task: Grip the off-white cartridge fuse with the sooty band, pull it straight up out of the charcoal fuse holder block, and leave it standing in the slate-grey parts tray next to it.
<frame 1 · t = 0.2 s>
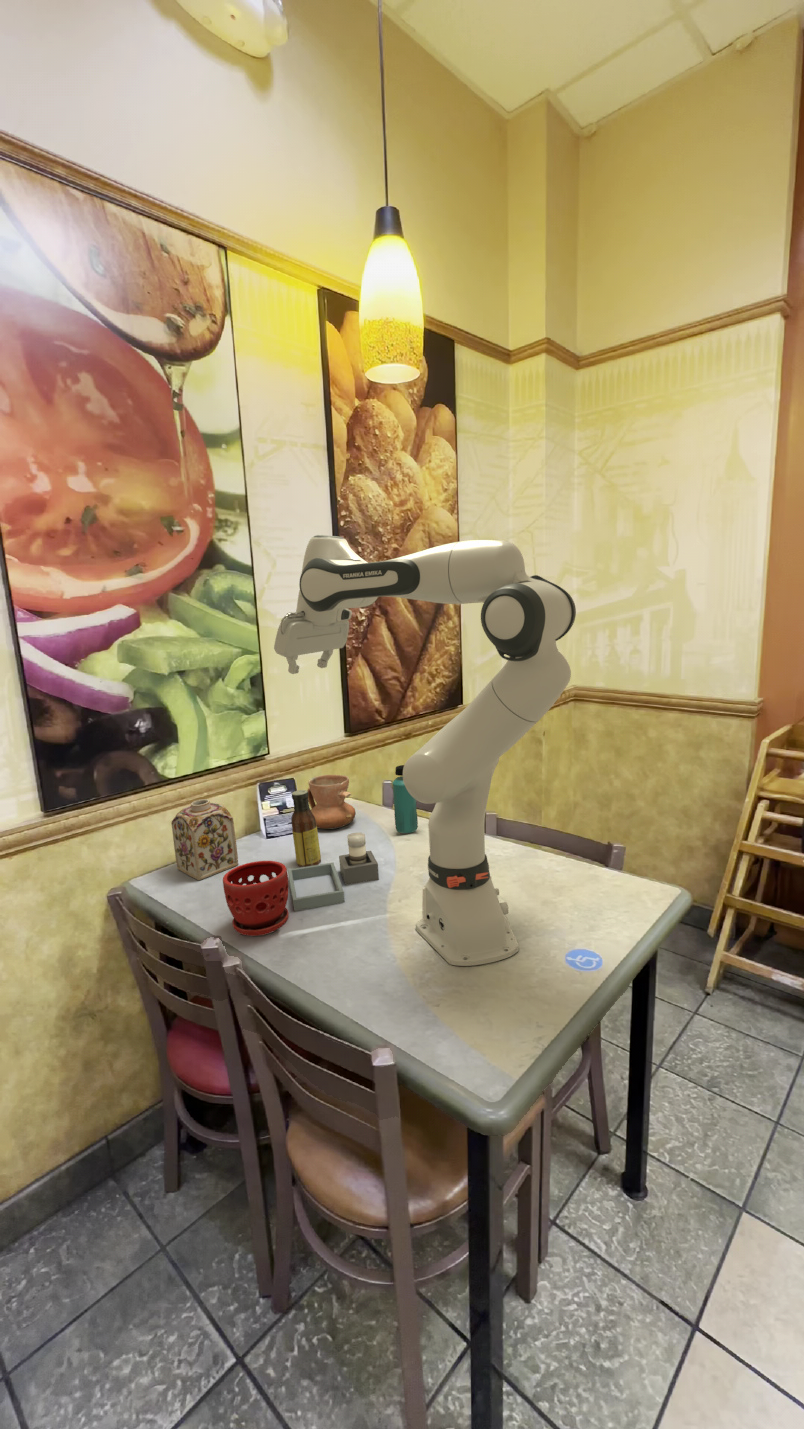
hand: (307, 669, 137), 51 cm above the table, tool tilted 20°, fingers open, 8 cm apart
blown fuse: (359, 875, 147), point 1 cm above the table, touching fuse holder
decorative jar: (208, 868, 158), on the table
sauce bottle: (308, 866, 156), on the table
ceramic jug: (331, 824, 185), on the table
beverage bottle: (406, 834, 173), on the table
fuse holder: (359, 878, 147), on the table
plant pot: (260, 925, 129), on the table
parts tray: (315, 894, 140), on the table
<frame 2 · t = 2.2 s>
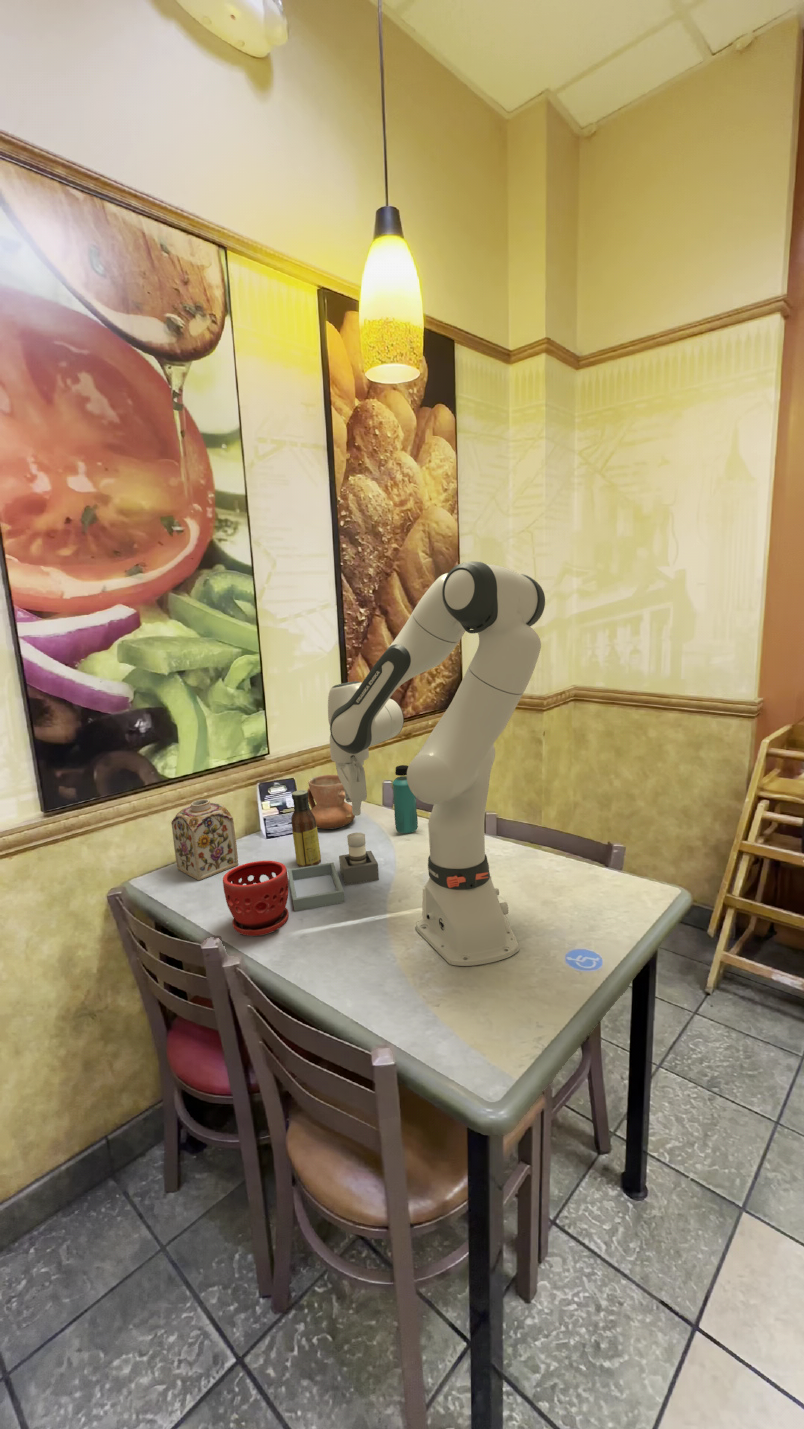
hand: (352, 807, 144), 18 cm above the table, tool pointing down, fingers open, 8 cm apart
nothing on the table moved.
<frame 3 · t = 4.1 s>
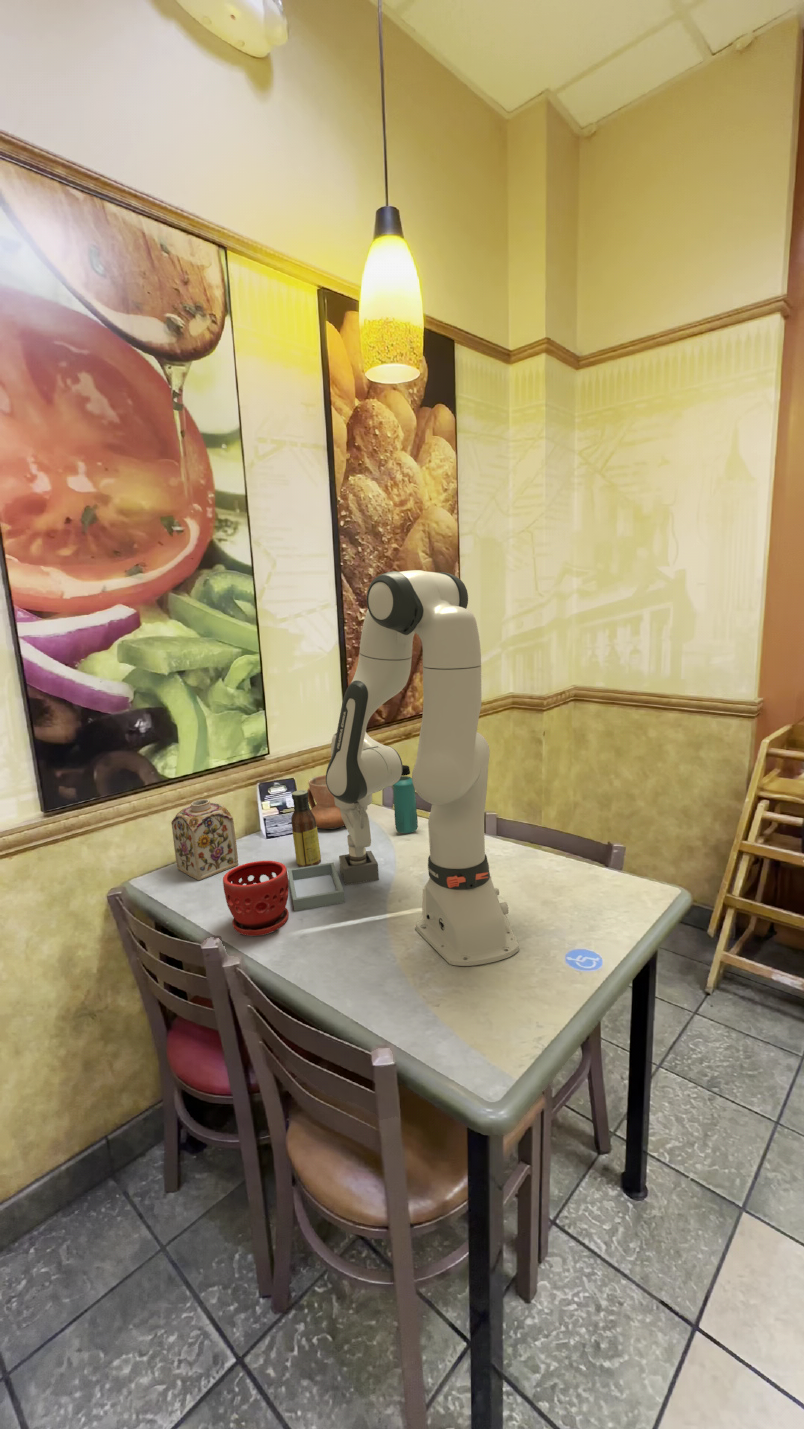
hand: (357, 851, 145), 7 cm above the table, tool pointing down, fingers closed on blown fuse, 4 cm apart
blown fuse: (359, 874, 147), point 1 cm above the table, touching fuse holder, gripper
everything else where it was.
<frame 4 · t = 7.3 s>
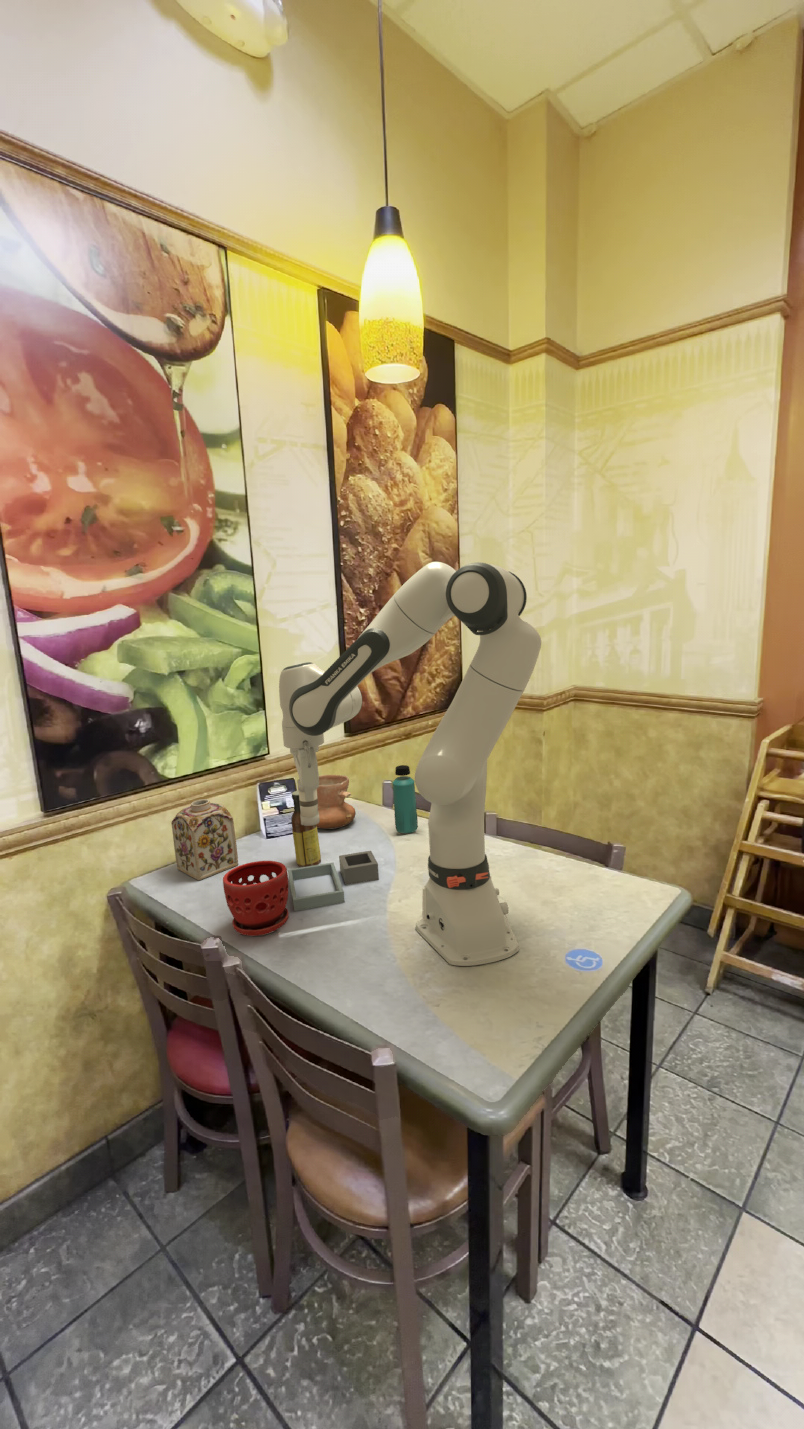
hand: (308, 796, 136), 23 cm above the table, tool pointing down, fingers closed on blown fuse, 4 cm apart
blown fuse: (310, 822, 138), point 17 cm above the table, touching gripper
everything else where it was.
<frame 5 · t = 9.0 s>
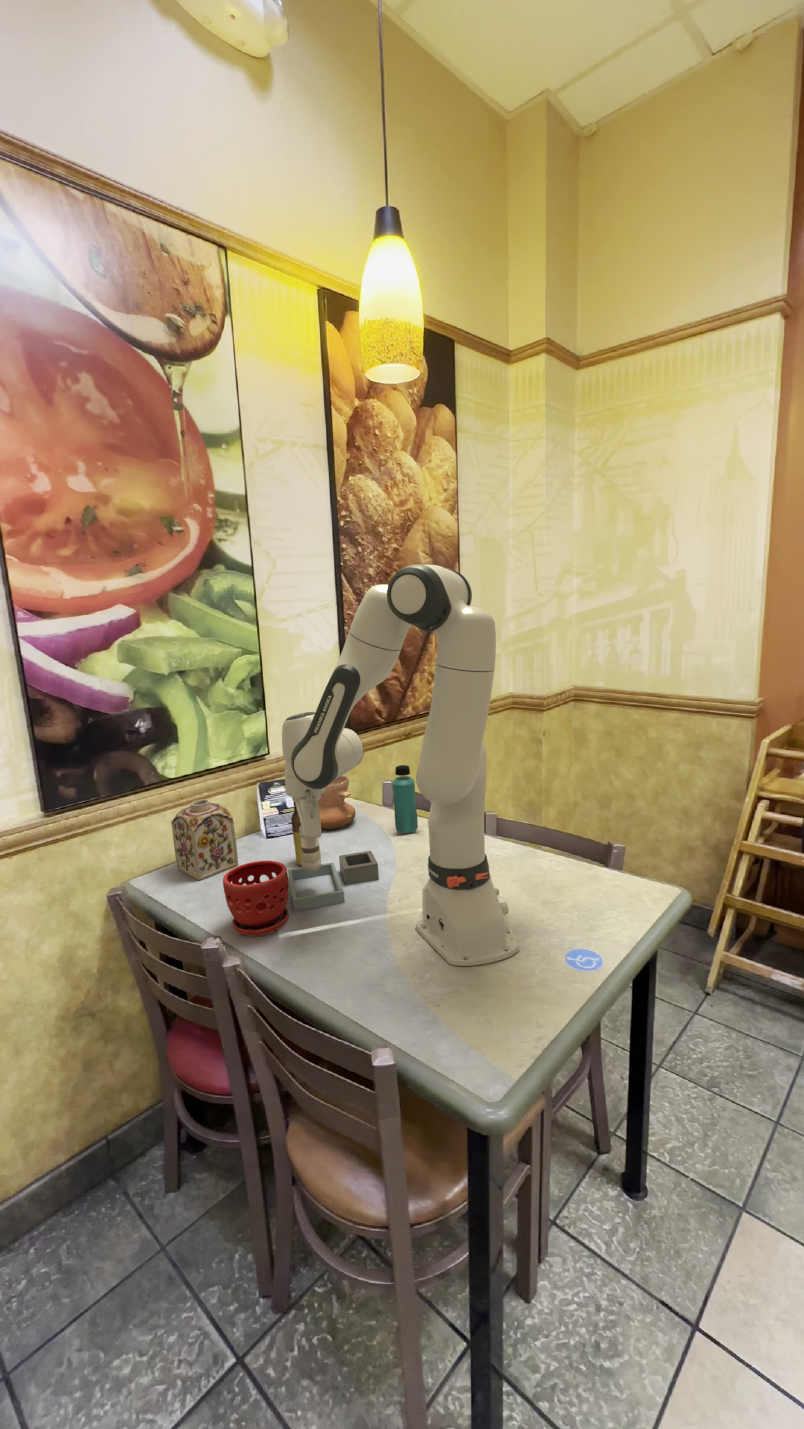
hand: (310, 842, 138), 13 cm above the table, tool pointing down, fingers closed on blown fuse, 4 cm apart
blown fuse: (311, 867, 139), point 7 cm above the table, touching gripper
everything else where it was.
when the fingers open (8 cm above the table, at t = 10.5 s): blown fuse moves 2 cm, resting on parts tray.
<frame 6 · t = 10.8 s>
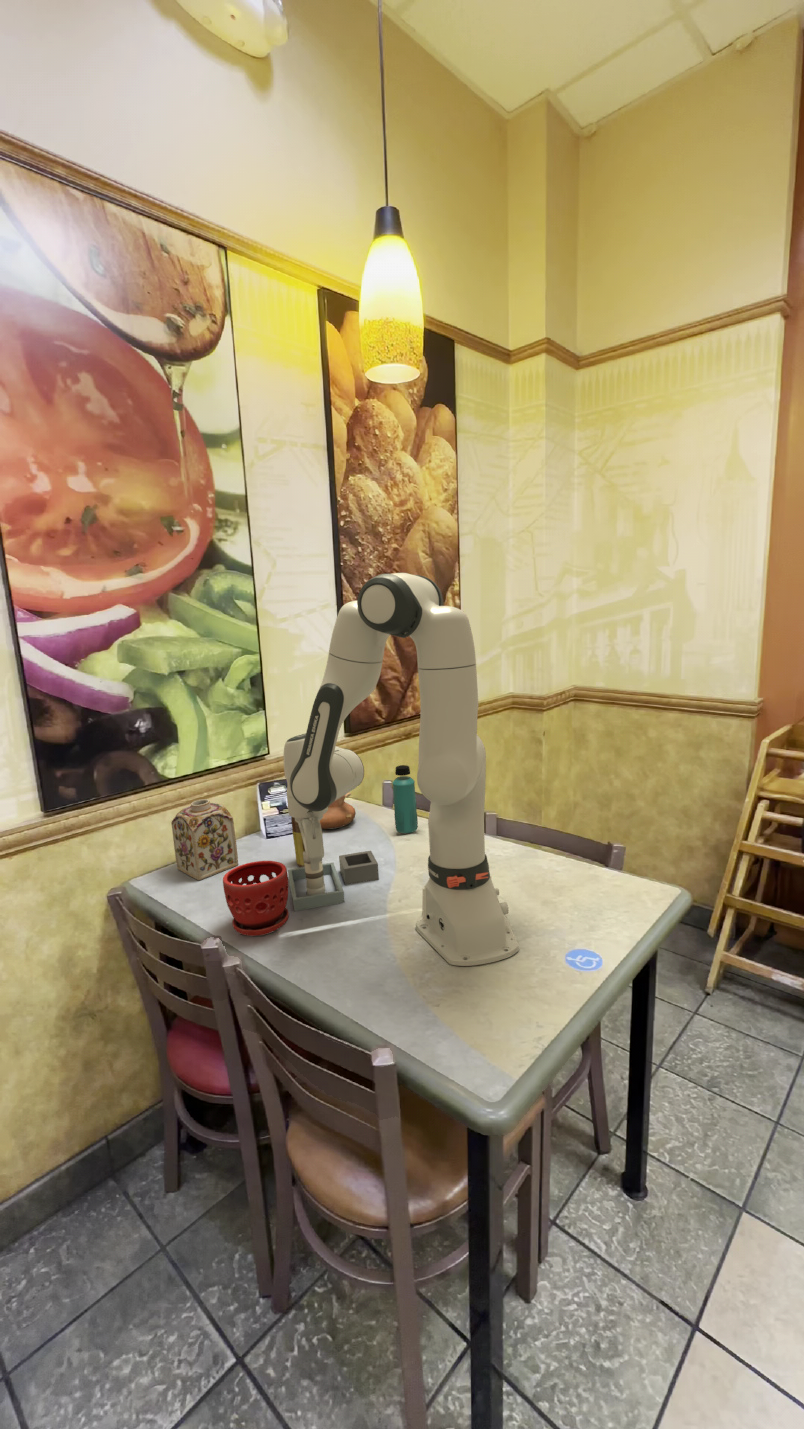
hand: (313, 862, 139), 8 cm above the table, tool pointing down, fingers open, 7 cm apart
blown fuse: (316, 893, 138), point 1 cm above the table, touching gripper, parts tray
everything else where it was.
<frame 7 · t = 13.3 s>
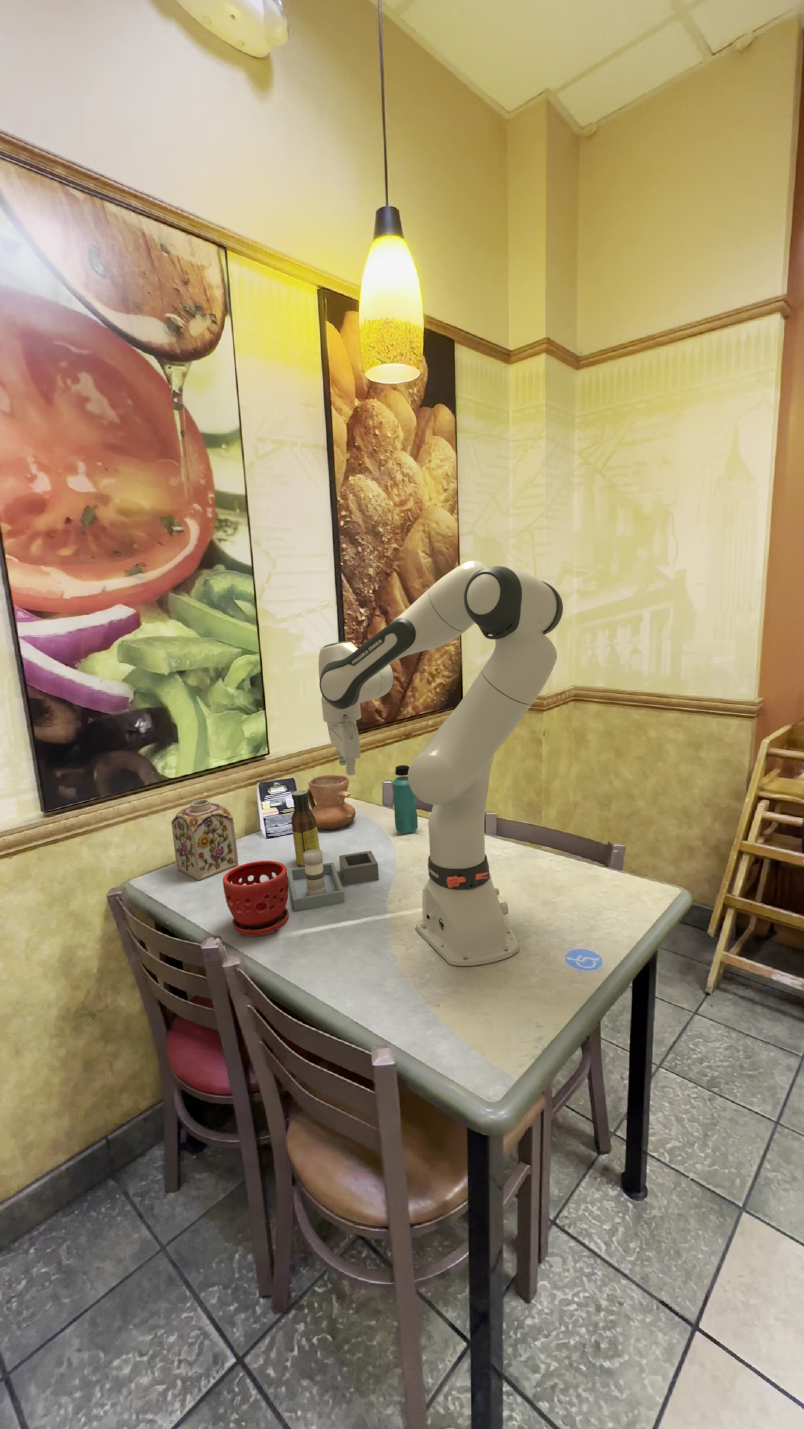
hand: (346, 769, 144), 27 cm above the table, tool pointing down, fingers open, 8 cm apart
blown fuse: (316, 894, 138), point 1 cm above the table, touching parts tray
everything else where it was.
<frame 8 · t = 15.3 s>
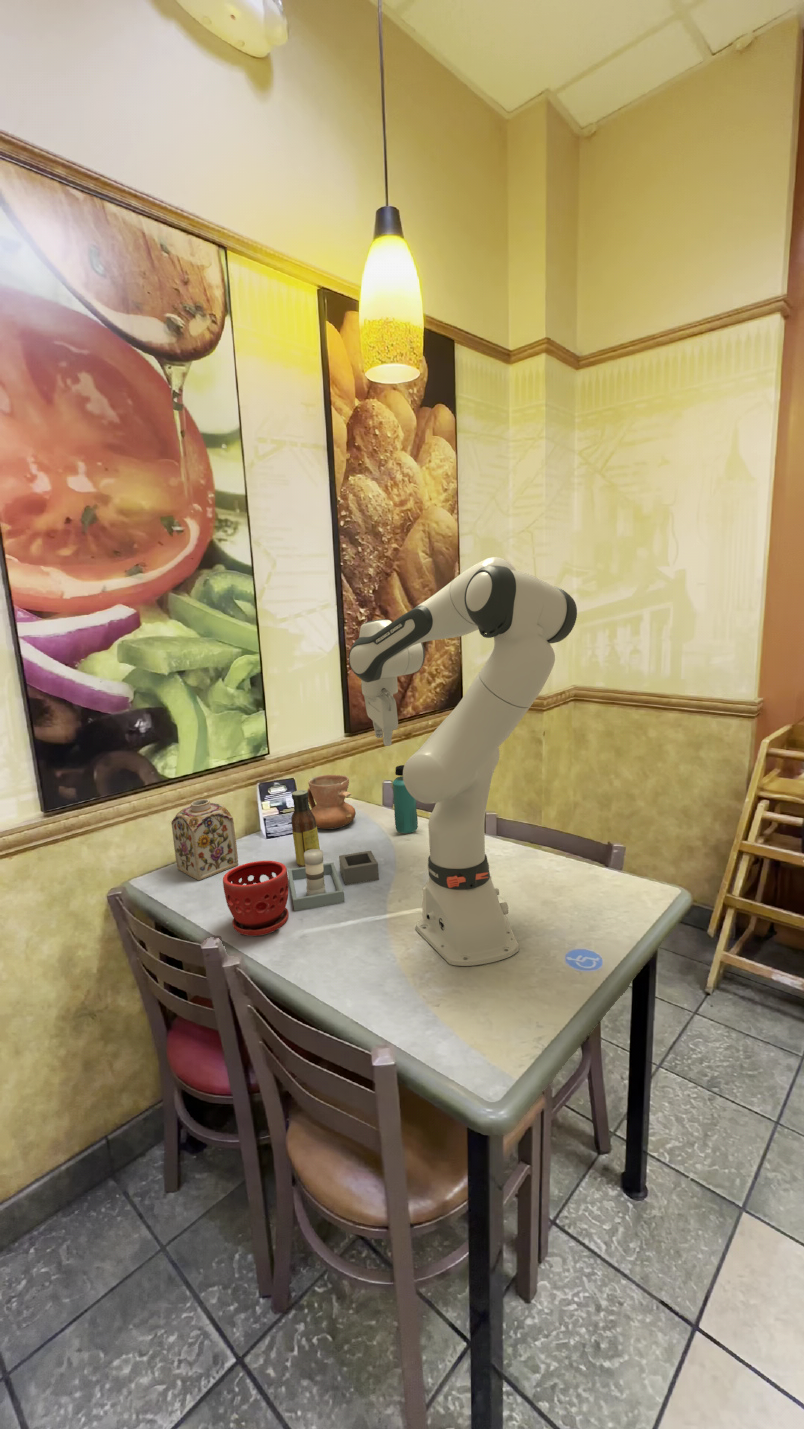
hand: (383, 741, 152), 31 cm above the table, tool pointing down, fingers open, 8 cm apart
nothing on the table moved.
at the end: blown fuse inside the target area on the parts tray (1.7 cm from its centre), point 0.8 cm above the parts tray's base; the gripper is holding nothing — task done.
